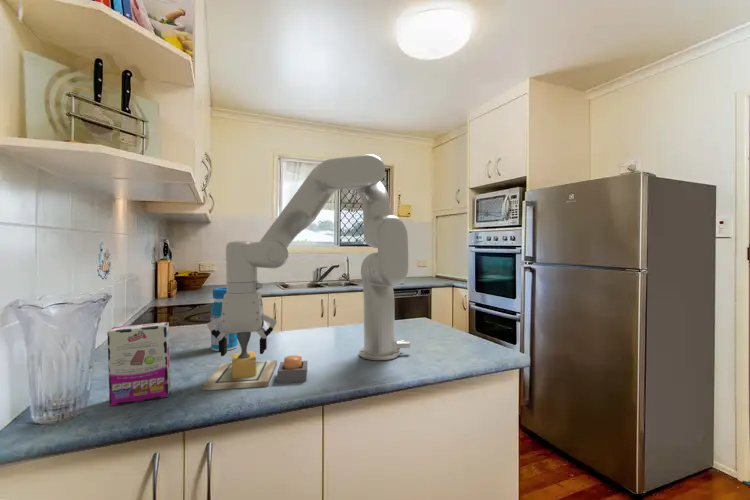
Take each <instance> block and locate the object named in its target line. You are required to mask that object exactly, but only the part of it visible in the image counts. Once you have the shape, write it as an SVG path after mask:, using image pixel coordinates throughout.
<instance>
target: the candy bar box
mask: <svg viewBox="0 0 750 500" xmlns="http://www.w3.org/2000/svg"><path fill="white" fill-rule="evenodd" d="M169 324H170V323H169V321H167V322H155V323H154V322H153V323H145V324H133V325H132V324H131V325H122V326H121V325H120V326H113V327H112V328H110V329H109V330H108V331H107V332H106V333H107V354H108V356H107V357H108V358H107V361H108V362H107V363H108V366H107V367H108V389H109V390H108V391H109V395H108V396H109V397H108V398H109V402H108V403H109V406H110V407H114V406H121V405H127V404H133V403H140V402H145V401H152V400H157V399H164V398H168V397H169V394H170V392H171V389H172V388H171V387H172V384H171V383H172V382H171V381H172V380H171V357H170V325H169Z"/></svg>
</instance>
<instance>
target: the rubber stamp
mask: <svg viewBox="0 0 750 500" xmlns="http://www.w3.org/2000/svg"><path fill="white" fill-rule="evenodd" d="M251 334H252V332H245V333H237V341H238V344H239V346H240V348H241V349H240V350H241V351H240V352H234V353H232V356H231V363H232V378H233V379H235V378H242V377H250V376H256V374H257V362H256V361H257V359H256V358H257V357H256V352H255V351H254V350H251V351H247V349H248V345H249V342H250V338H251Z"/></svg>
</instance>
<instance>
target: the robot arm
mask: <svg viewBox="0 0 750 500" xmlns="http://www.w3.org/2000/svg"><path fill="white" fill-rule="evenodd" d="M385 173H386V166H385V163H384V162H383V160H382V159H381V158H380V157H379V156H377V155H375V154H371V153H368V154H358V155H351V156H343V157H334V158H329V159H326V160H324V161H322V162H321V163H319V164H318V165H316V166H315V167H314V168H313V169H312V170H311V171H310V172H309V174H308V176H307V177H306V178H305V180H303V182H302V184H300V186H299V187H298V189H297V191H296V192H295V194H294V195H293V196H292V198H291V199H290V200H289V202H288V203H287V204H286V206H284V208H283V209H282V210H281V212H280V214H279V215H278V217H277V218H276V219H275V220H274V222H273V223H272V225H271V226H269V228H268V230H267V231H266V232H265V233H264V235H263V236H262V237H261V239H260V241H256V242H254V241H247V240H237V241H236V240H235V241H229V242H227V244H226V246H225V269H226V274H225V275H226V277H225V278H226V288H227V294H224V298H223V304H222V313H221V317H219V318H217V319H215V320H213V321H211V320H210V322H208V323H207V325H206V326H207V328H208V330H209V331H210V334H212V335H213V336H214V337H216V338H217V340H218V341H219V351H218V353H220V357H224V356H225V355H226V354H227V352H228V350H227V339H226V338H225V335H226V334H227V333H245V332H251V333H255V332H256V334H258V335H259V337H260V338H259V354H260V355H264V352H265V351H266V350H267V348H268V347H267V342H268V340H267V338H268V336H269V335H271V333H272V332H273V330H274V328H275V327H276V325H277V323H278V320H277V319H275V318H273V317H271V316H269V315H267V314H264V305H263V304H264V303H263V298H262V294H261V293H262V292H261V291H260V292H258V291H259V290H260V289H263V288H264V284H263V283H260V282H259V281H258V268H265V269H278V268H280V267H283V266H284V264H286V262H288V261H287V260H288V259H289V251H288V247H290V244H291V243H292V242H293V241H294V240H295V238H296V237H297V236H298V235H299V234H300V233H301V232H302V231H304V230H305V229H307V228H308V227H309V226H310V225H311V224H312V223H313V222H314V221H315V220H316V219H317V217H318V215H319V214H320V213H321V212H322V209H323V208H324V207H325V205H326V204H327V203H328V202H329V200H330V199H331V197H332V196H333V194H334V192H336V191H338V190H345V189H353V190H354V192H356V193H357V194H358V196H359V198H360V201H361V206H362V218H363V219H362V221H363V239H364V242H365V243H366V245H368V246H369V247H371V248H374V249H377V252H373V253H370V254H368V255H367V256H366V257H364V259H363V260H362V262H361V265H360V276H361V281H362V282H361V283H362V288H363V290H362V291H363V293H362V294H363V341H364V342H363V345H364V346H363V347H361V348H360V349H359V351H358V355H359V357H360V358H363V359H364V360H365V359H366V360H370V361H388V360H393V359H396V358H398V357H399V356H400V354H401V353H400V352H401V351H400V350H401V349H410V348H411V342H410V341H405V340H397V339H396V337H395V335H396V333H395V328H396V327H395V326H396V325H395V292H394V287H396V286H399V285H401V284H402V283H403V282H404V281H405V280H406V279H407V276H408V272H409V237H408V230H407V227H406V225H405V223H404V221H403V220H402V219H401V218H400V217H398V216H396V215H392V214H391V213H392V212H391V200H390V197H389V193H388V191H387V189H386V187H385V185H384V184H383V183H382V180H383V178H384V177H385ZM220 322H221V330H222V332H220V331H218V330H217V329H216V327H215V325H216V324H218V323H220ZM265 322H266V323H268V324H269V327H268V328H267V329H265V328H264V325H265Z"/></svg>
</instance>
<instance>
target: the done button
mask: <svg viewBox="0 0 750 500" xmlns="http://www.w3.org/2000/svg"><path fill="white" fill-rule="evenodd" d="M302 359H303V358H302V356H301V355H297V354H296V355H294V354H293V355H287V356H285V357H284V360H283V362H284V369H301V368H302V361H303V360H302Z"/></svg>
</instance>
